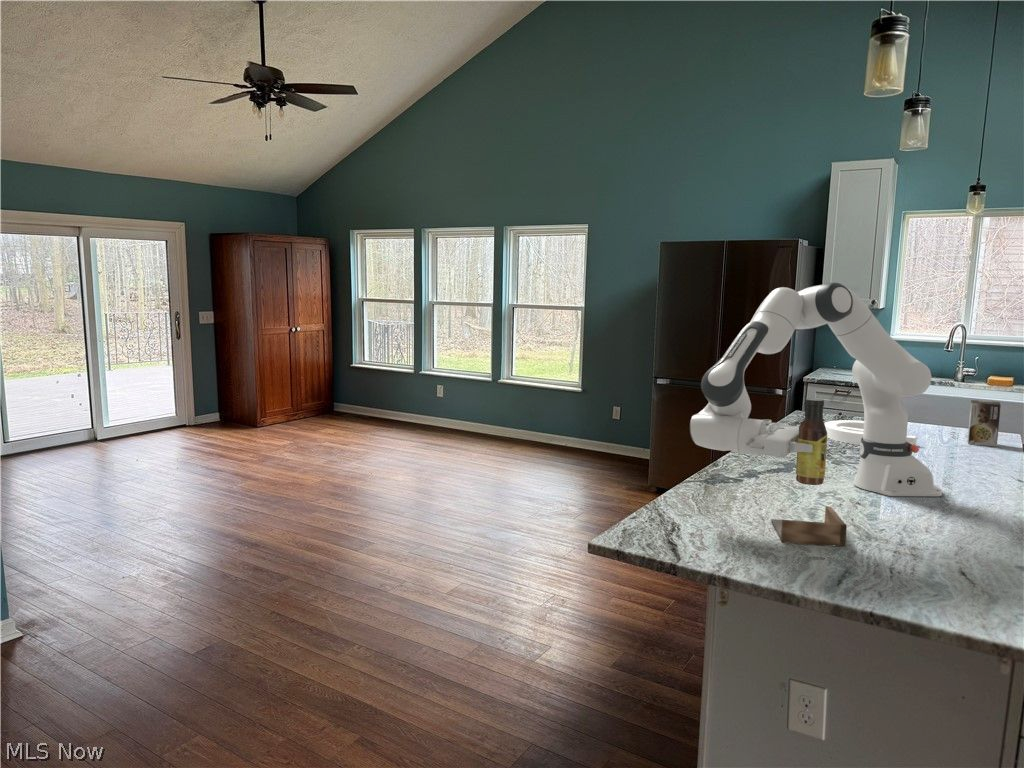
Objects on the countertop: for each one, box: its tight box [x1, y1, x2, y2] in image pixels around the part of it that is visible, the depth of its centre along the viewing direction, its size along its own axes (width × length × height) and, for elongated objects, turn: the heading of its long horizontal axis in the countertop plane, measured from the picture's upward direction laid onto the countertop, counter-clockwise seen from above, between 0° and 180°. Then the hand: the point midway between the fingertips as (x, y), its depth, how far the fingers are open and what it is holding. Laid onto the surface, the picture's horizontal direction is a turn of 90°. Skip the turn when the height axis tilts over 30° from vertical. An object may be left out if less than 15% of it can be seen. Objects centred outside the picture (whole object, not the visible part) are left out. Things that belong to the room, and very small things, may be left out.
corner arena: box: [770, 505, 847, 547], centre depth 159 cm, size 14×14×5 cm
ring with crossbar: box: [824, 419, 918, 446], centre depth 261 cm, size 28×28×5 cm
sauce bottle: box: [795, 397, 828, 486], centre depth 156 cm, size 6×6×20 cm
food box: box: [966, 399, 1002, 448], centre depth 251 cm, size 9×6×16 cm
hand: (816, 445), depth 156 cm, fingers closed on sauce bottle, 6 cm apart
